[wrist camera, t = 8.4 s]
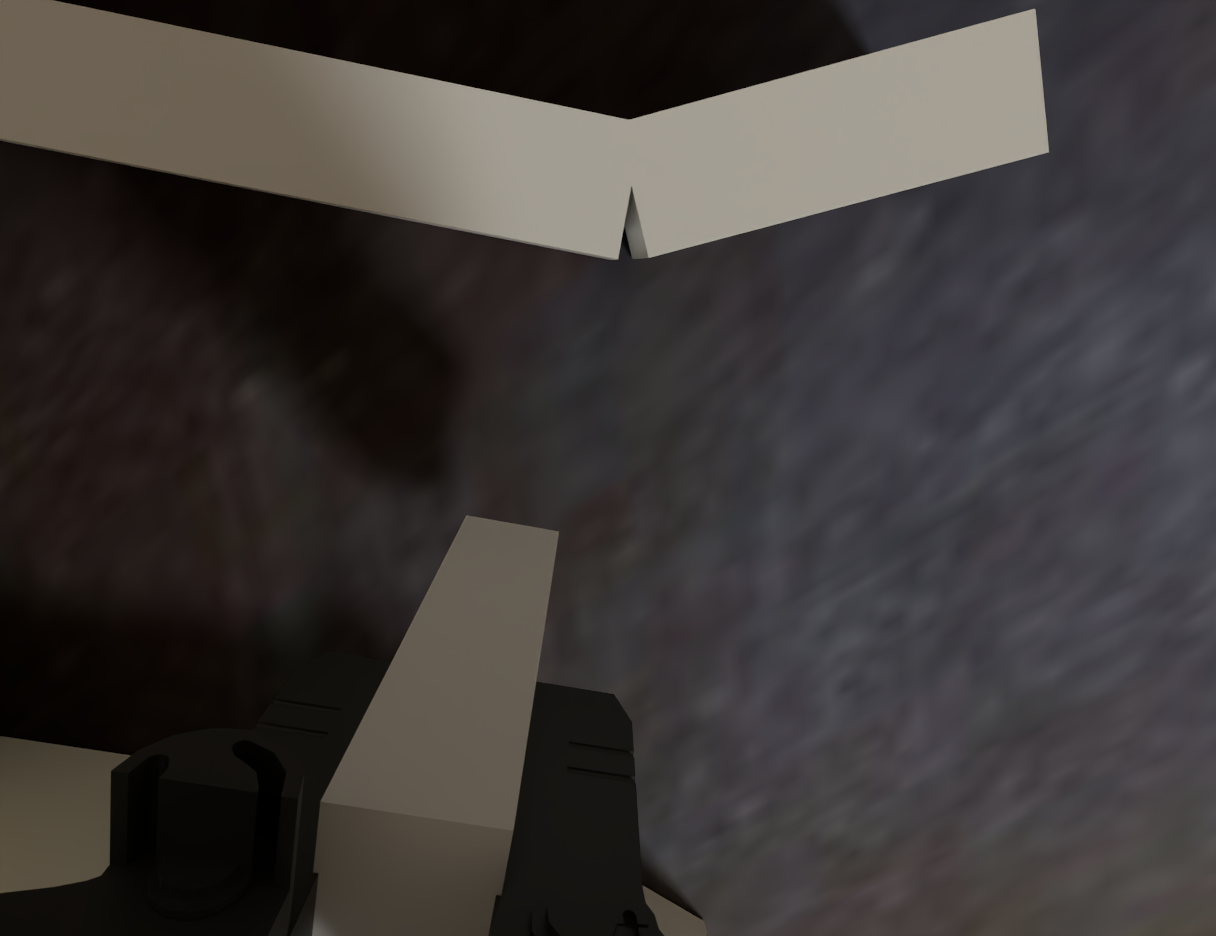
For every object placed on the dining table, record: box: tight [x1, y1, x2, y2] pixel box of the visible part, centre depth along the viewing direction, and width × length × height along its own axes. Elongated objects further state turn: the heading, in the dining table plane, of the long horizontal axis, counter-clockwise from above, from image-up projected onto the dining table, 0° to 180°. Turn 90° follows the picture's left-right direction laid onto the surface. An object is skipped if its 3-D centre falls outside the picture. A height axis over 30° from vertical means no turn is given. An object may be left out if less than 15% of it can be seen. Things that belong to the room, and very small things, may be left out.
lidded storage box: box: [0, 0, 1049, 936], centre depth 13 cm, size 22×19×4 cm
